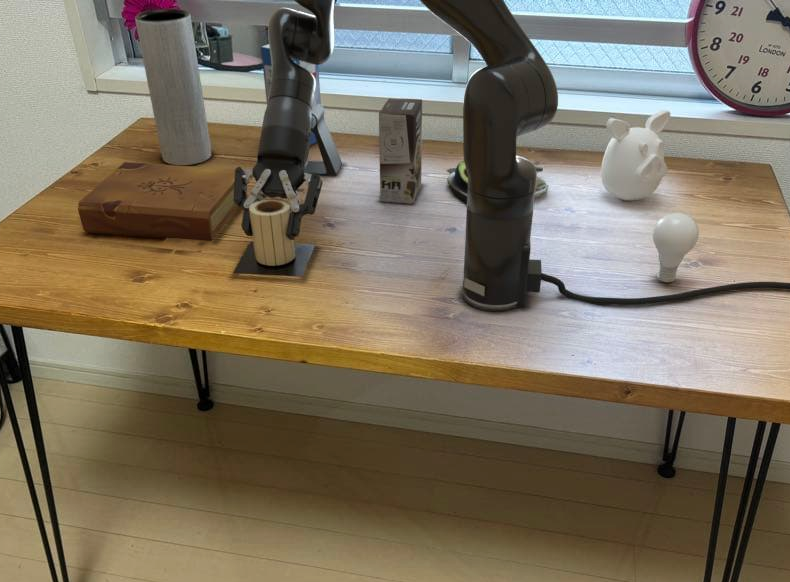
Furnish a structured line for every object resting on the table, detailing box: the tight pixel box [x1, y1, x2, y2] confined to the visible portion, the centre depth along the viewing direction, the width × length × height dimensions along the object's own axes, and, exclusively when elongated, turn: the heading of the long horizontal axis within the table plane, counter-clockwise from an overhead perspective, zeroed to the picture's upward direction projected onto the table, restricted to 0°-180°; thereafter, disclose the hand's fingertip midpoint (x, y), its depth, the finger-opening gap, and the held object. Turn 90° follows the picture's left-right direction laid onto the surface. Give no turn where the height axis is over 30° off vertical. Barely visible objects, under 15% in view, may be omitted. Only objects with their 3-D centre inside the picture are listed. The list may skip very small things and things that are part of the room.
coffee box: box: [378, 98, 423, 205], centre depth 146 cm, size 9×6×16 cm
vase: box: [134, 8, 212, 166], centre depth 158 cm, size 10×10×27 cm
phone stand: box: [304, 103, 343, 177], centre depth 157 cm, size 9×6×12 cm, turn 81°
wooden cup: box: [249, 198, 295, 266], centre depth 127 cm, size 6×6×8 cm
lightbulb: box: [652, 211, 700, 284], centre depth 121 cm, size 6×6×11 cm
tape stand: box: [232, 208, 316, 278], centre depth 127 cm, size 11×11×9 cm
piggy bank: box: [600, 109, 671, 201], centre depth 144 cm, size 12×12×15 cm
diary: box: [77, 161, 248, 241], centre depth 142 cm, size 23×19×6 cm
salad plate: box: [445, 160, 549, 204], centre depth 151 cm, size 19×18×5 cm
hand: (269, 236), depth 125 cm, fingers closed on wooden cup, 6 cm apart
